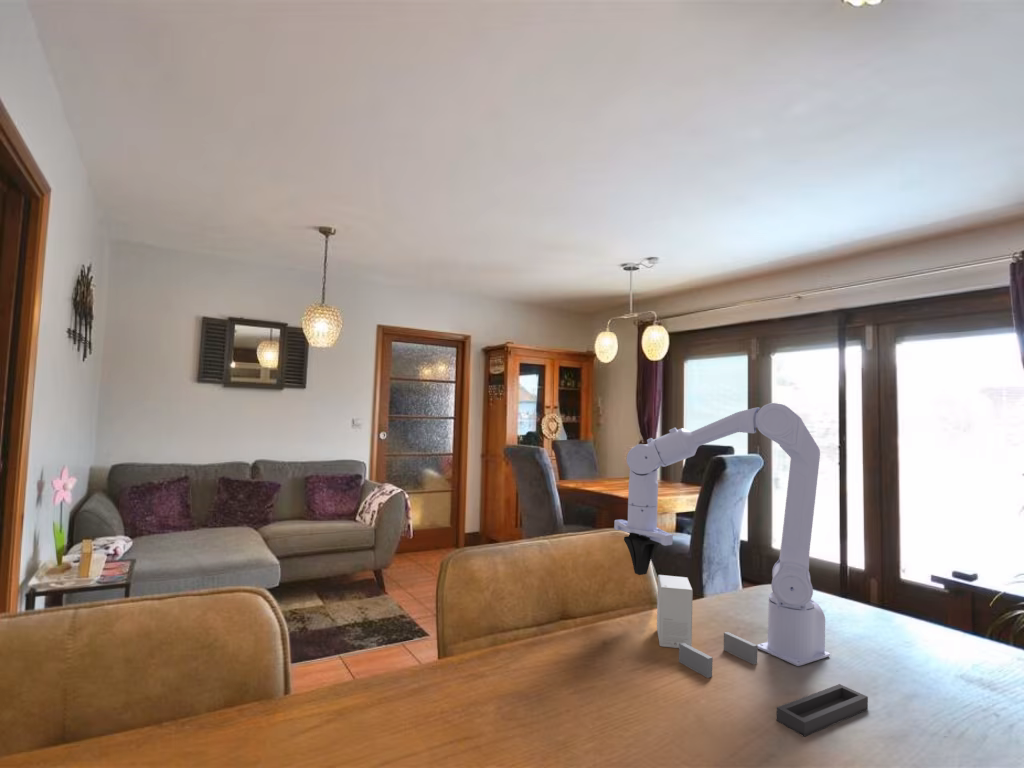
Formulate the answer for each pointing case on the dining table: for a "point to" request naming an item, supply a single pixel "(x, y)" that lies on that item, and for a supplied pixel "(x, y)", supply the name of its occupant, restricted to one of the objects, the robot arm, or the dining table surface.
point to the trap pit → (821, 709)
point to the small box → (674, 611)
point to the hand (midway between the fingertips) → (640, 573)
